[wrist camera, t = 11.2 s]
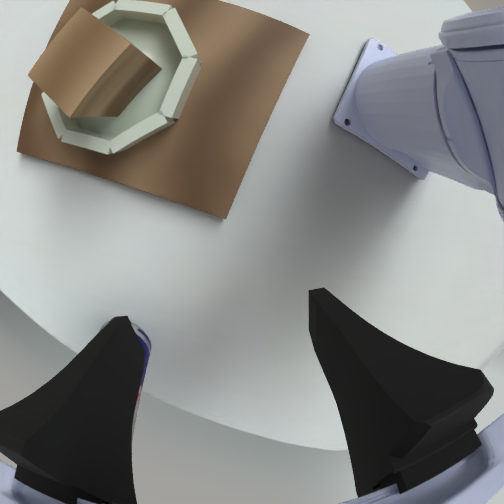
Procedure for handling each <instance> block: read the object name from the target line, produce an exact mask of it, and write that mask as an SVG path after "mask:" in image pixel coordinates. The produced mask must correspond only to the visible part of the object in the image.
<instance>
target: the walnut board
mask: <svg viewBox="0 0 504 504" xmlns="http://www.w3.org/2000/svg"><path fill="white" fill-rule="evenodd" d="M112 1H114V2H115V3H117V1H118V0H70V1H69V3H68V5H67V7H66V8H65V10H64V12H63V14H62V16H61V18H60V20H59V22H58V23H57V25H56V28H55V30H54V32H53V34H52V36H51V38H50V40H49V43H48V45H49V44H50V43H51V41H52V40H53V39H54V38H55V36H56V35H57V34H58V33H59V32H60V30H61V29H62V28H63V27H64V26H65V25H66V23H67V22H68V21H69V20H70V19H71V18H72V17H73V16H74V14H75V13H76V12H77V11H78V10H79V9H80V8H81V7H82V8H84V9H85V10H87V11H88V12H89V13H91V14H92V13H94V12H95V11H97V10H99V9H100V8H102V7H103V6H105V5H107V4H108V3H110V2H112ZM137 1H146V2H154V3H161V4H167V5H171V6H172V8H175V9H176V11H177V13H178V15H179V17H180V19H181V21H182V23H183V25H184V27H185V29H186V31H187V33H188V35H189V37H190V39H191V41H192V43H193V45H194V47H195V49H196V51H197V54H198V56H199V58H200V61H201V63H200V66H201V69H200V71H199V74H198V76H197V78H196V80H195V82H194V85H193V87H192V89H191V91H190V94H189V96H188V98H187V101H186V103H185V105H184V108H183V110H182V113H181V115H180V118H179V119H176V118H173V119H174V121H175V123H174V124H172V125H170V126H168V127H166V128H164V129H162V130H161V131H159V132H157V133H155V134H153V135H151V136H149V137H148V138H146V139H144V140H142V141H140V142H139V143H137V144H135V145H134V146H132V147H130V148H128V149H127V150H123V151H120V152H117V153H114V154H113V153H111V154H108V155H107V154H104V153H101V152H97V151H94V150H90V149H87V148H83V147H80V146H76V145H72V144H69V143H65V142H61V140H62V138H58V137H57V135H56V133H55V130H54V128H53V125H52V123H51V120H50V117H49V115H48V112H47V109H46V107H45V104H44V101H43V98H42V95H41V94H42V93H43V91H42V89H41V88H40V87H39V86H38V85H37V84H36V83H35V82H33V85H32V88H31V91H30V95H29V98H28V102H27V105H26V109H25V113H24V117H23V121H22V126H21V131H20V136H19V141H18V147H17V152H20V153H24V154H27V155H31V156H34V157H37V158H41V159H44V160H47V161H51V162H54V163H57V164H61V165H64V166H67V167H70V168H74V169H77V170H80V171H83V172H87V173H90V174H93V175H96V176H99V177H102V178H105V179H109V180H112V181H115V182H118V183H121V184H124V185H127V186H130V187H133V188H136V189H139V190H142V191H145V192H148V193H151V194H154V195H157V196H160V197H163V198H166V199H169V200H172V201H175V202H178V203H181V204H184V205H187V206H190V207H193V208H196V209H198V210H201V211H204V212H207V213H210V214H213V215H216V216H219V217H221V218H224V219H226V218H227V215H228V213H229V211H230V208H231V206H232V203H233V201H234V198H235V196H236V194H237V191H238V189H239V186H240V184H241V182H242V179H243V177H244V175H245V172H246V170H247V168H248V165H249V163H250V161H251V158H252V156H253V154H254V152H255V149H256V147H257V145H258V142H259V140H260V138H261V136H262V133H263V131H264V129H265V127H266V125H267V122H268V120H269V118H270V116H271V114H272V111H273V109H274V107H275V105H276V103H277V101H278V98H279V96H280V94H281V92H282V90H283V88H284V86H285V84H286V81H287V79H288V77H289V75H290V73H291V71H292V69H293V67H294V65H295V63H296V61H297V59H298V57H299V55H300V53H301V51H302V49H303V47H304V45H305V43H306V41H307V39H308V37H309V35H310V34H308V33H306V32H304V31H301V30H299V29H297V28H295V27H293V26H290V25H288V24H286V23H283V22H281V21H279V20H276V19H274V18H271V17H268V16H266V15H263V14H260V13H258V12H255V11H252V10H249V9H246V8H243V7H240V6H236V5H233V4H230V3H226V2H222V1H219V0H137ZM48 45H47V47H48ZM47 47H46V48H47Z"/></svg>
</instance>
